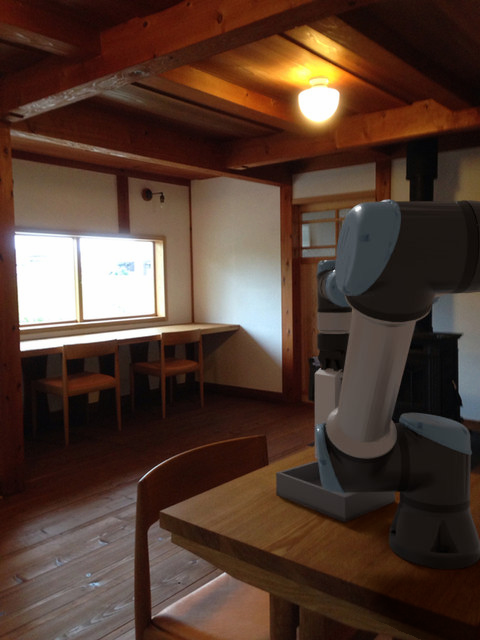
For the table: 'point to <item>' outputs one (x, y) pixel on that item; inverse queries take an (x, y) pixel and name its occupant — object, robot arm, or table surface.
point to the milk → (326, 395)
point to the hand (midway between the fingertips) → (334, 437)
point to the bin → (326, 494)
